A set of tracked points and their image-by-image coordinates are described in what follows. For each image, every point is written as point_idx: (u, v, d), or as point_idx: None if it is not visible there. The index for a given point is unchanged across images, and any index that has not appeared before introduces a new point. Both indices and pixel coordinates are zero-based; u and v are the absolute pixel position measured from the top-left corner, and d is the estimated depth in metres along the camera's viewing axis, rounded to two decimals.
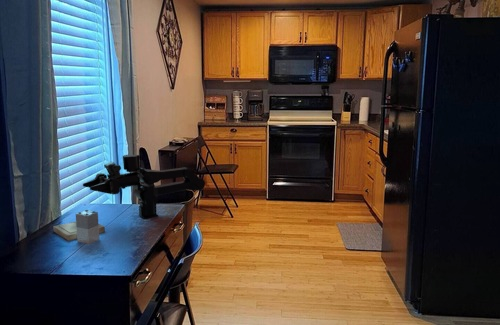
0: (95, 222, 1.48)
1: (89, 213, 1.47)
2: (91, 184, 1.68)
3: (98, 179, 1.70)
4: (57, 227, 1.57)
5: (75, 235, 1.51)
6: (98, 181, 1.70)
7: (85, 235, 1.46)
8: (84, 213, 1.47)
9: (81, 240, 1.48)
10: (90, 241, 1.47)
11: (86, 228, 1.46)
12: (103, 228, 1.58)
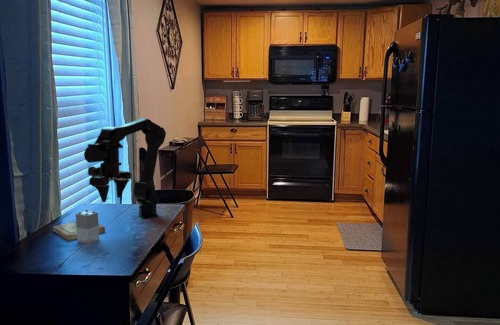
0: (95, 222, 1.48)
1: (89, 213, 1.47)
2: (119, 189, 1.65)
3: (116, 181, 1.65)
4: (57, 227, 1.57)
5: (75, 235, 1.51)
6: (118, 181, 1.65)
7: (85, 235, 1.46)
8: (84, 213, 1.47)
9: (81, 240, 1.48)
10: (90, 241, 1.47)
11: (86, 228, 1.46)
12: (103, 228, 1.58)
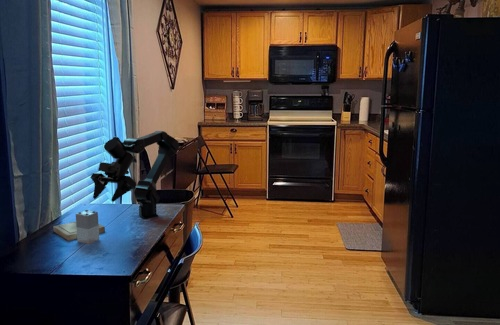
0: (95, 222, 1.48)
1: (89, 213, 1.47)
2: (98, 191, 1.59)
3: (99, 182, 1.59)
4: (57, 227, 1.57)
5: (75, 235, 1.51)
6: (100, 183, 1.60)
7: (85, 235, 1.46)
8: (84, 213, 1.47)
9: (81, 240, 1.48)
10: (90, 241, 1.47)
11: (86, 228, 1.46)
12: (103, 228, 1.58)
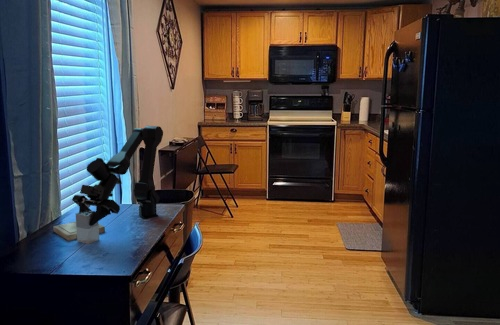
0: None
1: (89, 213, 1.47)
2: None
3: (84, 205, 1.51)
4: (57, 227, 1.57)
5: (75, 235, 1.51)
6: (85, 207, 1.51)
7: (85, 235, 1.46)
8: (84, 213, 1.47)
9: (81, 240, 1.48)
10: (90, 241, 1.47)
11: (86, 228, 1.45)
12: (103, 228, 1.58)
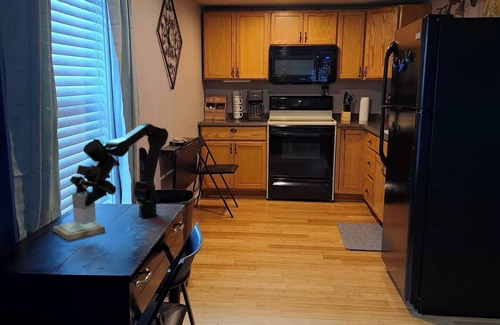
0: None
1: (85, 193, 1.47)
2: None
3: (81, 186, 1.51)
4: (57, 227, 1.57)
5: (75, 235, 1.51)
6: (82, 188, 1.52)
7: (81, 215, 1.47)
8: (80, 193, 1.47)
9: (77, 221, 1.48)
10: (86, 221, 1.47)
11: (82, 208, 1.46)
12: (103, 228, 1.58)
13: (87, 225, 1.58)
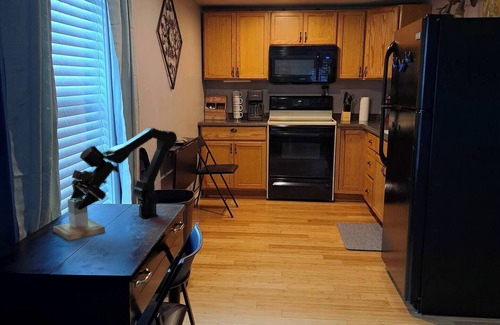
0: (83, 209, 1.56)
1: (78, 200, 1.56)
2: None
3: (77, 189, 1.61)
4: (57, 227, 1.57)
5: (75, 235, 1.51)
6: (78, 190, 1.62)
7: (73, 220, 1.55)
8: (74, 199, 1.56)
9: (71, 225, 1.57)
10: (77, 226, 1.55)
11: (73, 213, 1.54)
12: (103, 228, 1.58)
13: None
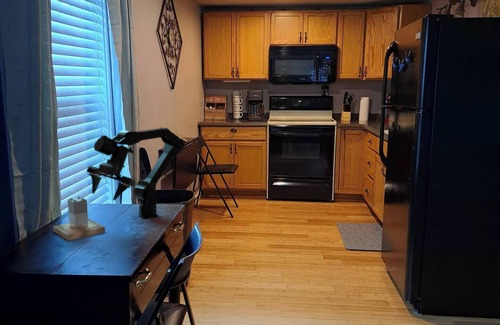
0: (83, 209, 1.56)
1: (78, 200, 1.56)
2: (95, 185, 1.64)
3: (96, 177, 1.63)
4: (57, 227, 1.57)
5: (75, 235, 1.51)
6: (97, 177, 1.64)
7: (73, 220, 1.55)
8: (74, 199, 1.56)
9: (71, 225, 1.57)
10: (77, 226, 1.55)
11: (73, 213, 1.54)
12: (103, 228, 1.58)
13: None
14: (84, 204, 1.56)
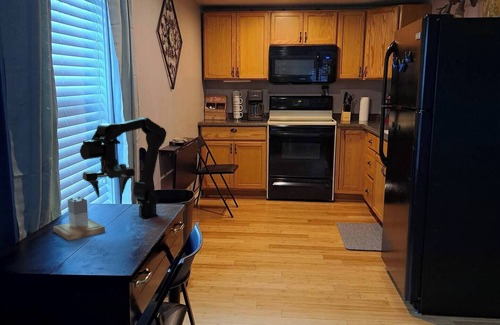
0: (83, 209, 1.56)
1: (78, 200, 1.56)
2: None
3: None
4: (57, 227, 1.57)
5: (75, 235, 1.51)
6: None
7: (73, 220, 1.55)
8: (74, 199, 1.56)
9: (71, 225, 1.57)
10: (77, 226, 1.55)
11: (73, 213, 1.54)
12: (103, 228, 1.58)
13: None
14: (84, 204, 1.56)
